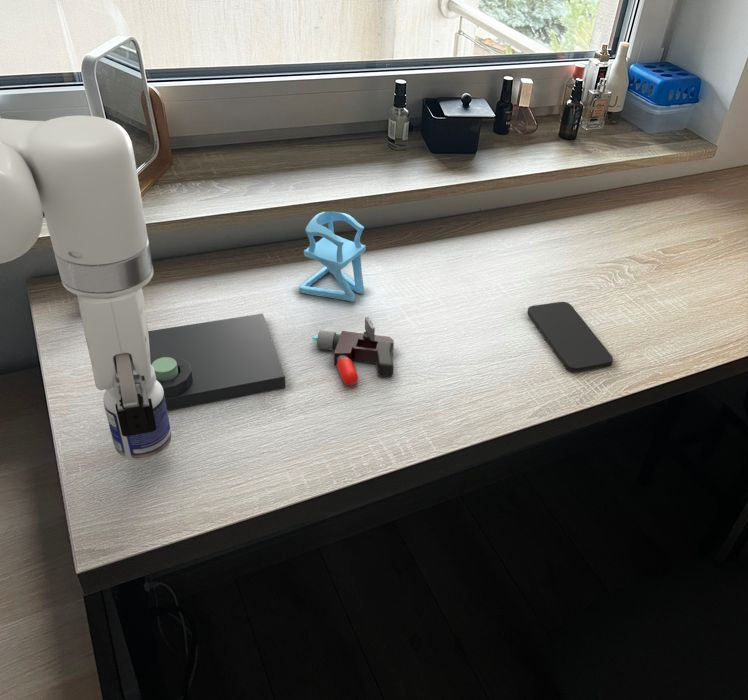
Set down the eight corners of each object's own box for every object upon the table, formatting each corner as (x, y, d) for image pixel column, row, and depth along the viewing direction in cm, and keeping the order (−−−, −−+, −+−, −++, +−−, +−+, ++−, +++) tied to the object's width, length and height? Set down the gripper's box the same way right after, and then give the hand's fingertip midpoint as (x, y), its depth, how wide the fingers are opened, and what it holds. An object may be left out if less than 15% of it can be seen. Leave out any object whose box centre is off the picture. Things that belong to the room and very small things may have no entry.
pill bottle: (181, 429, 80) (169, 360, 74) (158, 467, 76) (144, 396, 70) (130, 421, 80) (114, 351, 74) (104, 458, 76) (85, 386, 70)
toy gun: (314, 337, 100) (313, 309, 97) (400, 348, 100) (401, 320, 97) (296, 383, 93) (294, 354, 90) (388, 394, 93) (390, 365, 90)
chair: (344, 309, 106) (344, 238, 99) (298, 291, 108) (294, 220, 101) (372, 285, 112) (374, 216, 104) (327, 269, 114) (326, 200, 107)
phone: (570, 369, 99) (524, 306, 109) (568, 374, 99) (524, 311, 110) (616, 361, 101) (568, 300, 112) (615, 365, 102) (567, 304, 112)
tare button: (154, 383, 85) (152, 373, 84) (152, 369, 87) (150, 359, 86) (179, 379, 86) (177, 369, 85) (177, 365, 88) (175, 355, 87)
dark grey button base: (147, 414, 86) (142, 392, 84) (138, 344, 95) (133, 322, 93) (285, 387, 92) (284, 366, 90) (263, 324, 101) (261, 303, 99)
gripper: (58, 219, 69) (94, 366, 80) (58, 322, 57) (100, 479, 68) (143, 212, 71) (167, 355, 82) (160, 310, 59) (185, 461, 70)
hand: (137, 409), depth 75 cm, fingers closed on pill bottle, 5 cm apart
